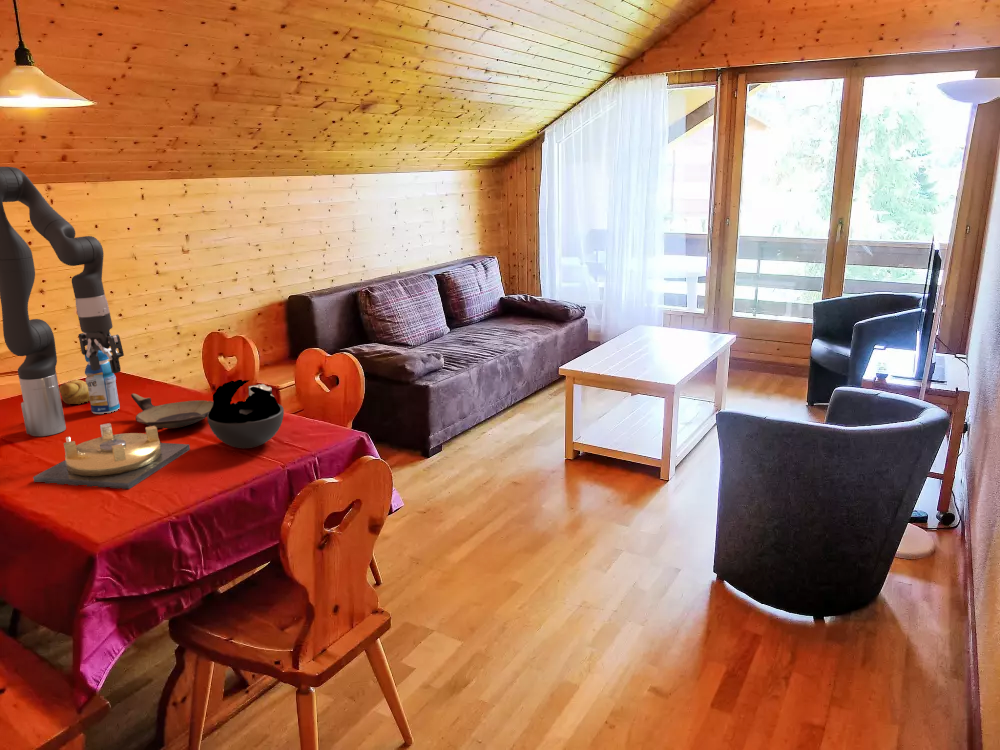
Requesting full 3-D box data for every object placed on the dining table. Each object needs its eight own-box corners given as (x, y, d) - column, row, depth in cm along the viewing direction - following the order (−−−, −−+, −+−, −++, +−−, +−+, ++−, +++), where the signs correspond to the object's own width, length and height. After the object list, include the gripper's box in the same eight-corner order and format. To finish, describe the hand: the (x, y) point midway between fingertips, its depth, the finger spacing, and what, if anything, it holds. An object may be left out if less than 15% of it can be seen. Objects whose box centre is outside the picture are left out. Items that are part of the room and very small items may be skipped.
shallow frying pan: (157, 444, 206) (153, 419, 204) (120, 420, 226) (116, 396, 224) (233, 425, 221) (230, 401, 219) (192, 403, 241) (189, 381, 239)
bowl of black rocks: (211, 438, 210) (203, 375, 205) (283, 429, 217) (278, 368, 211) (210, 464, 192) (202, 395, 187) (289, 453, 198) (283, 387, 193)
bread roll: (62, 398, 248) (58, 375, 246) (94, 393, 253) (90, 371, 251) (62, 408, 237) (57, 384, 235) (95, 403, 242) (92, 380, 240)
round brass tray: (169, 462, 189) (166, 438, 187) (72, 483, 176) (67, 458, 175) (151, 437, 206) (148, 415, 204) (62, 455, 194) (57, 432, 192)
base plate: (34, 482, 181) (28, 454, 179) (105, 444, 206) (101, 419, 204) (129, 489, 177) (124, 460, 175) (190, 449, 202) (186, 423, 200)
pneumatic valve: (260, 429, 217) (256, 391, 214) (250, 418, 226) (246, 381, 223) (279, 426, 220) (275, 387, 216) (268, 415, 229) (264, 378, 226)
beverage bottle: (123, 411, 234) (114, 350, 229) (94, 416, 229) (84, 354, 224) (116, 404, 241) (107, 345, 235) (88, 410, 235) (78, 349, 230)
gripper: (63, 314, 195) (76, 373, 200) (98, 317, 189) (111, 377, 193) (89, 309, 201) (102, 365, 206) (123, 311, 195) (135, 369, 200)
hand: (106, 371), depth 200 cm, fingers open, 8 cm apart
